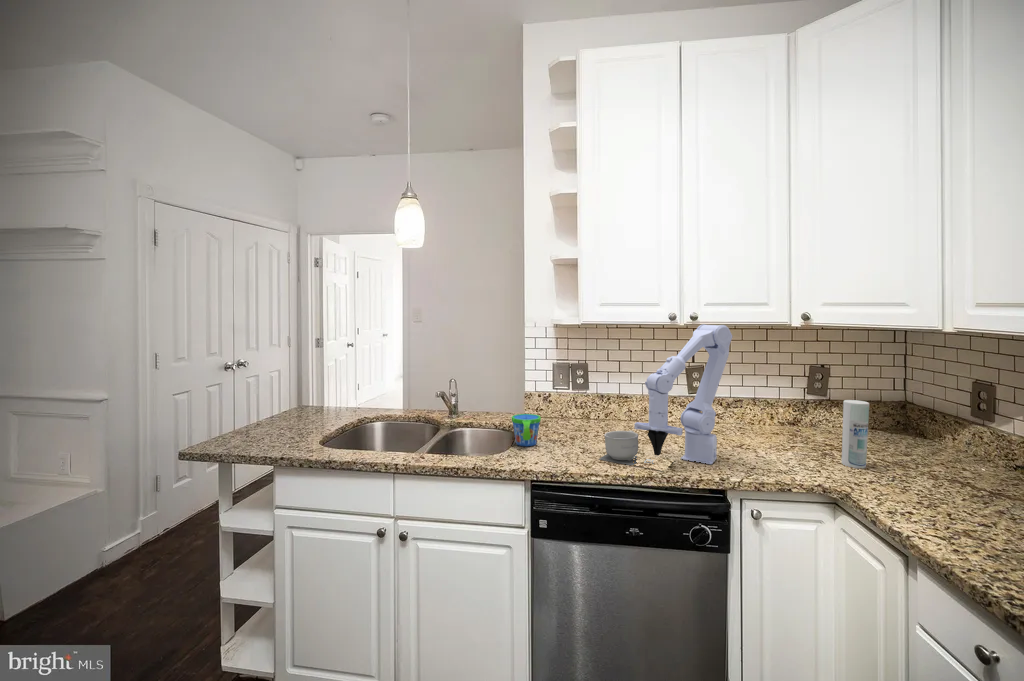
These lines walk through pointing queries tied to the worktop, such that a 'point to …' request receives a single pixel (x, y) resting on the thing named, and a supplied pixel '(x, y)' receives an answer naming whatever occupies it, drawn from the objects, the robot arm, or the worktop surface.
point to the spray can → (855, 433)
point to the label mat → (627, 462)
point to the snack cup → (526, 429)
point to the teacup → (621, 444)
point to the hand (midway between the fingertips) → (657, 454)
